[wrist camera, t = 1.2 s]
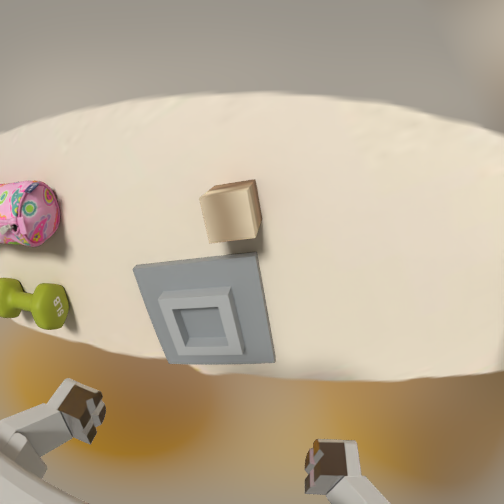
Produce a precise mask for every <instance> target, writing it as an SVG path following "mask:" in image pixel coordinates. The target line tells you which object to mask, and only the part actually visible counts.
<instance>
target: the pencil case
mask: <svg viewBox="0 0 504 504" xmlns="http://www.w3.org/2000/svg"><path fill="white" fill-rule="evenodd" d="M59 223H60V209H59V205H58V202H57V199H56V197H55V195H54V193H53V191H52V190H51V188H50V187H49V186H48V185H46V184H45V183H44V182H41V181H23V182H16V183H9V184H0V243H5V244H22V245H25V246H30V247H37V246H39V245H41V244H43V243H44V242H45V241H46V240H48V239H49V238H50V237H51V236H52V235H53V234H54V233H55V231H56V230H57V228H58V226H59Z"/></svg>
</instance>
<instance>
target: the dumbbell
mask: <svg viewBox="0 0 504 504" xmlns="http://www.w3.org/2000/svg"><path fill="white" fill-rule="evenodd" d="M21 310H25V311H30V312H31V313H32V316H33V318H34V321H35V323H36V324H37V326H38V327H40V328H42V329H46V330H53V329H59V328H61V327H62V326H63V324H64V322H65V320H66V317H67V314H68V311H69V303H68V300H67V297H66V294H65V291H64V288H63V287H62V286H61V285H58V284H50V283H42V284H39V285H38V286H37V287H36V289H35V291H34V293H33V294H30V293H24V292H23V289H22V287H21V284H20V283H19V281H18V280H16V279H11V278H0V317H3V318H15V317H18V316H19V315H20V312H21Z"/></svg>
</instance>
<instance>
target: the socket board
mask: <svg viewBox="0 0 504 504" xmlns="http://www.w3.org/2000/svg"><path fill="white" fill-rule="evenodd" d="M133 272H134V275H135V278H136V280H137V283H138V286H139V289H140V292H141V295H142V297H143V300H144V303H145V306H146V308H147V311H148V314H149V316H150V319H151V321H152V324H153V327H154V329H155V332H156V334H157V337H158V339H159V341H160V344H161V346H162V349H163V351H164V353H165V356H166V358H167V360H168V363H169V364H256V363H275V352H274V346H273V341H272V335H271V330H270V324H269V318H268V313H267V307H266V301H265V296H264V290H263V285H262V279H261V274H260V268H259V262H258V257H257V252H251V253H242V254H233V255H223V256H214V257H205V258H196V259H187V260H178V261H169V262H160V263H151V264H141V265H136V266H135V267H134V268H133Z"/></svg>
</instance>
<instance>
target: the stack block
mask: <svg viewBox="0 0 504 504" xmlns="http://www.w3.org/2000/svg"><path fill="white" fill-rule="evenodd" d="M199 200H200V204H201V209H202V213H203V218H204V222H205V227H206V231H207V235H208V240H209V244H210V243H218V242H226V241H234V240H243V239H251V238H256V235H257V232H258V230H259V227H260V224H261V221H262V215H261V210H260V204H259V198H258V192H257V187H256V181H255V179H254V180H248V181H241V182H235V183H229V184H223V185H217V186H214V187H213V188H211V189H210V190H209V191H208V192H206V193H205V194H204V195H202V196H201V197H200V198H199Z"/></svg>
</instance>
